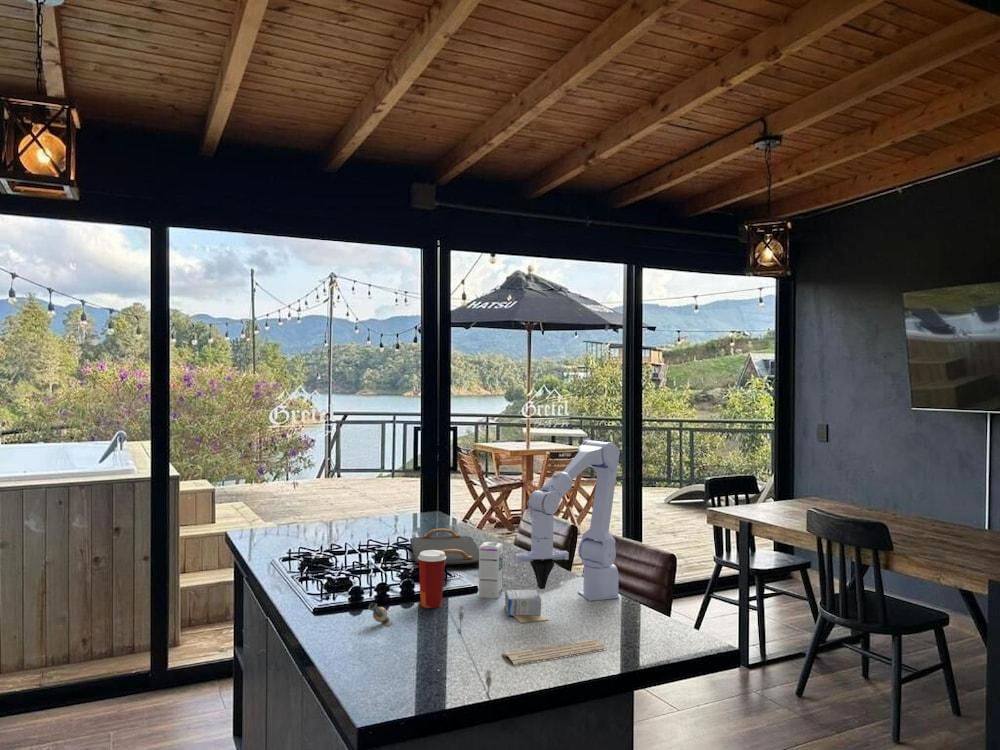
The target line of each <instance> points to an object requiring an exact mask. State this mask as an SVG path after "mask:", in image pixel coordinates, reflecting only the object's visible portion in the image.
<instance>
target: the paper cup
mask: <svg viewBox="0 0 1000 750" xmlns="http://www.w3.org/2000/svg"><path fill="white" fill-rule="evenodd" d="M418 559H419V563H418V567H419V568H418V569H419V570H418V571H419V592H420V593H419V595H420V596H419V597H420V607H422V608H426V609H435V608H440V607H441V606H442V603H443V602H442V601H443V592H444V578H445V566H446V565H445V559H446V556H445V553H444V552H443V551H439V550H426V551H422V552H420V554H419V556H418Z"/></svg>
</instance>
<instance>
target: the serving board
mask: <svg viewBox="0 0 1000 750" xmlns="http://www.w3.org/2000/svg"><path fill="white" fill-rule="evenodd" d="M435 533H448V534H450V535H443V534H442V535H432V534H435ZM409 542H410V547H411V551H412V556H413V557H414V561H415V562H414V563H416V564H419V559H418V556H419V554H420V552H422V551H426V550H439V551H443V552H444V553H445V556H446V559H445V566H446V565H467V564H474V567H475V568H479V547H478V545H477V544H476V542H475V540H474V539H473V537H471V536H467V535H460V534H457V533H456V532H455V531H453V530H452V529H451V528H434V529H433V528H432V529H431V530H429V531H428V532H427V533H426V534H424V535H422V536H416V537H412V538H411V537H410V539H409Z"/></svg>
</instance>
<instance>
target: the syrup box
mask: <svg viewBox="0 0 1000 750" xmlns="http://www.w3.org/2000/svg"><path fill="white" fill-rule="evenodd" d="M503 545H504V544H503V543H502V542H498V541H483V542H482V544H481V545H479V547H478V548H479V567H478V597H479V598H483V597H485V598H484V599H494V598H497V599H499V598H500V597H501V595H502V593H503V583H504V582H503V575H504V574H503V573H504V572H503V569H504V568H503V567H504V566H503V565H504V563H503V561H504V559H503V557H504V556H503V554H504V553H503V549H504V548H503V547H504V546H503ZM497 599H496V600H497Z"/></svg>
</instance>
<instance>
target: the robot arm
mask: <svg viewBox="0 0 1000 750" xmlns="http://www.w3.org/2000/svg"><path fill="white" fill-rule="evenodd" d="M620 454H621V451H620V450H619V447H618V446H617V445H616V443H615V442H611V441H597V440H591V439H585V440H584V441H583V442H582V443H581V444H580V445H579V446H578V448H577V453H576V455H575V456H574V457H573V458H572V460H571V461H570V462H569V463H568V465H566V467H565V469H564V470H563V471H557V472H554V473H553V474H551V475H552V476H551V477H550V478H549V480H547V481H546V483H544V484H543V485H542V486H541V488H540V489H537V490H534V491H533V492H532V493H530V495H529V496H528V500H527V501H526V505H527V508H528V509H529V513H530V517H531V539H530V541H531V544H530V546H531V547H530V549H531V550H530V551H525V552H520V553H514V562H516V563H519V564H521V563H523V562H524V563H525V562H529V564H530V565H531V567H532V570H533V573H534V575H535V579H536V584H537V589H540V590H545V589H546V586H547V582H548V578H549V576H550V573H551V571H552V570H553V569H554V567H555V562H554V560H556V561H557V560H564V561H565V560H566V561H568V560H569V557H570V556H569V555H570V552H568V551H567V550H554V515H555V513H556V512H557V510H558V509H559V506H560V503H561V500H562V498H563V497H564V496H565V495H567V493H568V492H569V491H570V490H571V488H572V487H573V481H574V479H575V478H576V477H578V476H579V475H580V474H581V473H582V472H583V471H584V470H585V469H587V468H588V467H589V466H590V467H591V468H592V469H593V470H594V471H595V473H596V483H595V491H594V497H593V504H592V511H591V517H590V525H589V529H587V530H586V531H584V532H583V533H582V535H581V540H580V542H579V544H578V547H577V554H578V557H579V559H581V564H583V590H582V589H581V590H578V591H577V593H578V594H580V596H582V597H584V598H585V599H586V600H587V601H600V600H610V599H620V595H619V577H620V576H619V575H620V574H619V571H618V567H617V566H616V564H614V562H615V560H616V557H617V551H616V550H617V549H616V542H617V541H616V539H615V538H614V537H613V536H612V534H611V533H610V532H609V531H610V526H611V516H612V510H613V502H614V496H615V495H614V494H615V487H616V481H617V474H618V468H619V460H620Z"/></svg>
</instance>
